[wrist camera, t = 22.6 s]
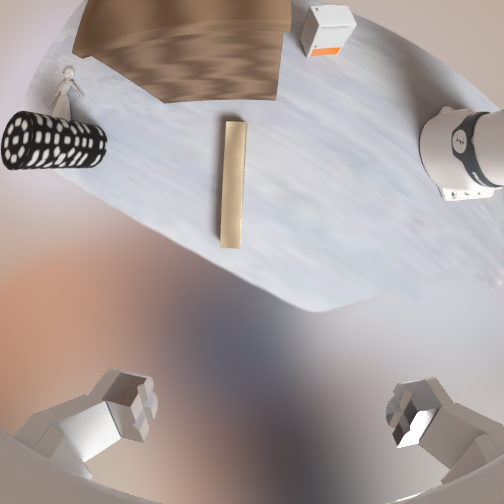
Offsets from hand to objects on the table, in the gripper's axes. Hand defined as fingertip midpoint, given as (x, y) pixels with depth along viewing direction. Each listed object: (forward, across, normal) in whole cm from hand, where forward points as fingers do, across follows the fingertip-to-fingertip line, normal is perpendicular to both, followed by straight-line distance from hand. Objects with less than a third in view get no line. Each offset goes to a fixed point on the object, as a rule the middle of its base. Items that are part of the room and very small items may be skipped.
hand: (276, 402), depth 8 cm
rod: (+40, +6, -6) cm, 40 cm away
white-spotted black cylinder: (+39, +34, -14) cm, 54 cm away
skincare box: (+39, -8, -32) cm, 51 cm away
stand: (+39, +9, -29) cm, 49 cm away
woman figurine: (+40, +42, -24) cm, 63 cm away
